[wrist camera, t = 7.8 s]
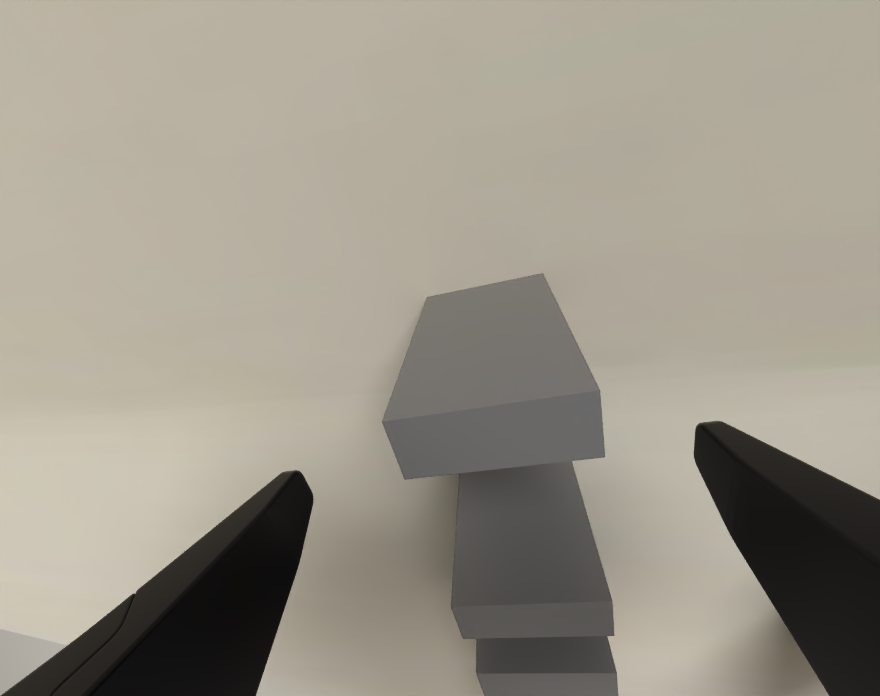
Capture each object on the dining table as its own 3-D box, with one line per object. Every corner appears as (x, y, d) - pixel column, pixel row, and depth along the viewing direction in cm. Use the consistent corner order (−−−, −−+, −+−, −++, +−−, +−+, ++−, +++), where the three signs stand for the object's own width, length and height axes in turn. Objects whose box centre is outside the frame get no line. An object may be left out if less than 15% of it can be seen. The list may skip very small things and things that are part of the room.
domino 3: (477, 491, 23) (476, 673, 15) (567, 482, 22) (616, 673, 14) (483, 514, 24) (485, 697, 16) (570, 507, 23) (618, 699, 15)
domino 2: (462, 432, 21) (451, 606, 13) (559, 420, 20) (612, 601, 12) (469, 460, 22) (463, 638, 14) (563, 449, 21) (614, 635, 13)
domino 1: (427, 297, 17) (381, 421, 10) (542, 273, 16) (599, 390, 9) (437, 335, 18) (404, 479, 10) (548, 315, 17) (604, 457, 9)
